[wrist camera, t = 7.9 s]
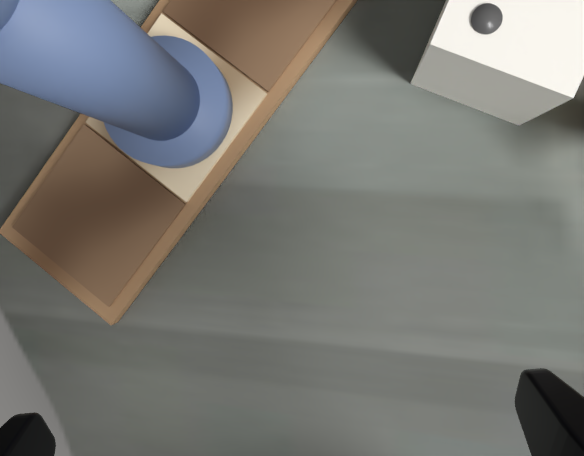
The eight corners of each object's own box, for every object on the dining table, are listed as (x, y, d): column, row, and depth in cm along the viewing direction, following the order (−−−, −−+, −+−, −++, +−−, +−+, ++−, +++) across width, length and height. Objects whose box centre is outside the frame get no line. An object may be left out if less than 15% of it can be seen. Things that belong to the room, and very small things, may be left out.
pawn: (253, 80, 19) (43, -220, 6) (199, 189, 19) (-114, 139, 6) (150, 28, 19) (-269, -365, 6) (98, 135, 19) (-397, -20, 6)
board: (461, -140, 18) (467, -156, 17) (118, 322, 20) (108, 326, 20) (330, -230, 19) (330, -250, 18) (7, 231, 21) (-6, 231, 20)
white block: (567, 16, 18) (641, -50, 14) (517, 125, 18) (574, 97, 14) (456, -24, 18) (492, -101, 14) (410, 84, 19) (430, 43, 14)
